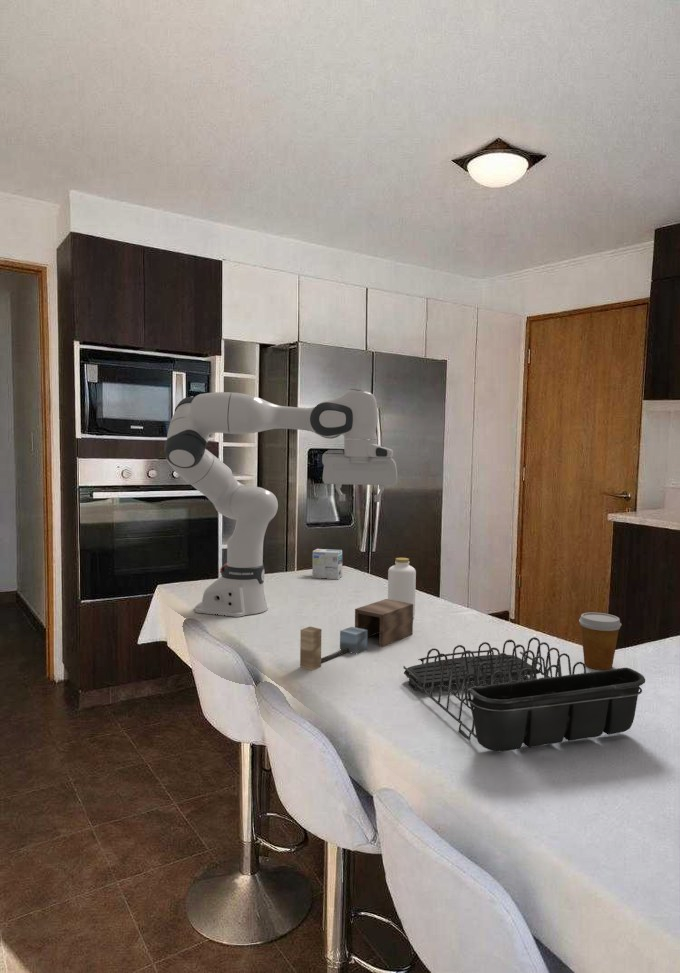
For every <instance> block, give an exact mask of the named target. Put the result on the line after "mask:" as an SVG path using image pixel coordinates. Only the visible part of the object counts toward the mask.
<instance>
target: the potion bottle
mask: <svg viewBox="0 0 680 973" xmlns="http://www.w3.org/2000/svg"><path fill="white" fill-rule="evenodd" d="M394 561H395V562H394V563H395V564H394V565H392V566H390V567H389V568H388V569H387V570H388V571H387V573H388V574H387V599H389V600H395V601H400V602H405V603H411V604H413V618H414V617H415V615H416V584H417V583H416V582H417V579H416V577H417V570H416V568H414V567H413V566H412V565H410V558H407V557H395V560H394Z"/></svg>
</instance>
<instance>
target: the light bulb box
mask: <svg viewBox="0 0 680 973" xmlns="http://www.w3.org/2000/svg"><path fill="white" fill-rule="evenodd" d="M311 570H312V573H311V574H312V577H311V578H312V579H321V578H327V579H326V580H337V579H338V580H339V579H341V578H342V577H343V550H342V549H328V548H325V549H323V548H316V549H314V550H312V569H311ZM340 577H341V578H340Z"/></svg>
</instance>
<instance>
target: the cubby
mask: <svg viewBox="0 0 680 973" xmlns="http://www.w3.org/2000/svg"><path fill="white" fill-rule="evenodd" d="M354 627H356V628H360V629H364V630H367V638H368V637H372V636H374V635H376V634H378V635H379V637H378V638H379V639H378V641H379V642H378V643H379V644H378V645H379V647H383V648H384V647H385V646H388V645H390V644H392V643H395V642H396V641H399V640H402V639H404V638H406V636H407V637H409V636H411V635H413V634H414V628H413V627H414V617H413V604H411V603H405V602H400V601H395V600H389V599H388V598H384V599H381V600H379V601H376V602H373V603H370V604H366V605H363V606H360V607H357V608H355V609H354ZM408 635H409V636H408Z"/></svg>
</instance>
